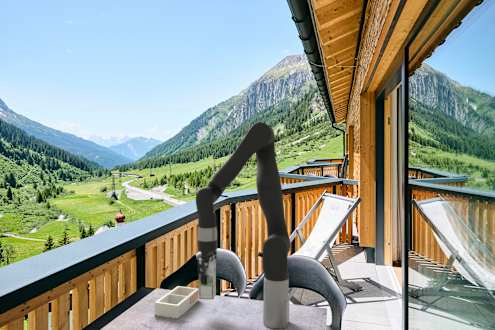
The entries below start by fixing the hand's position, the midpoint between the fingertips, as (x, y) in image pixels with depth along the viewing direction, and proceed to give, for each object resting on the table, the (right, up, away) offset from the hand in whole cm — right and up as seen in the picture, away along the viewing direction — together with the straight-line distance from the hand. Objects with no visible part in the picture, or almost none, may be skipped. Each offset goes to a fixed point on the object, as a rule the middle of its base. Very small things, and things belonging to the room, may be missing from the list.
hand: (207, 281), depth 141 cm
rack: (-13, -13, +7) cm, 20 cm away
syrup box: (0, -6, 0) cm, 6 cm away
